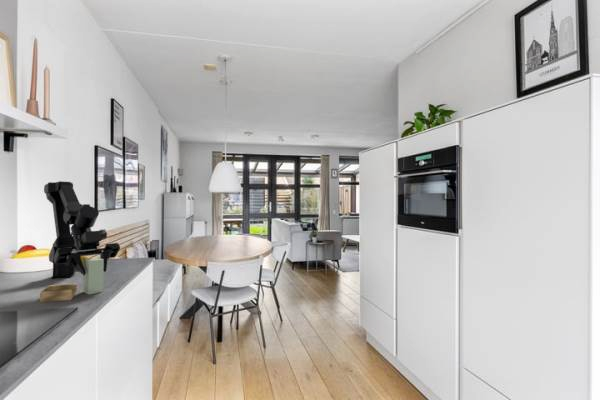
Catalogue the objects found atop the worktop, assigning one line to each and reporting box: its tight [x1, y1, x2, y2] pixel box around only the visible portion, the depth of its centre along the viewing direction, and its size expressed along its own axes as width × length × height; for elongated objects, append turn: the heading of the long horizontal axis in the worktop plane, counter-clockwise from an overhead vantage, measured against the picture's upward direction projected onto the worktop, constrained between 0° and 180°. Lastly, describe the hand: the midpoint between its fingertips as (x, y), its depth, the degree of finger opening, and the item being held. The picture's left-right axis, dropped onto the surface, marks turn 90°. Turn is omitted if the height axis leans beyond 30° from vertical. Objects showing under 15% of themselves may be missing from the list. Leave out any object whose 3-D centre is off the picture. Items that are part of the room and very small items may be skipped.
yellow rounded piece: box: [81, 256, 91, 266], centre depth 140 cm, size 5×5×10 cm
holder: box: [39, 283, 78, 303], centre depth 102 cm, size 8×8×3 cm
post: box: [82, 257, 104, 295], centre depth 108 cm, size 4×4×11 cm
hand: (95, 272), depth 107 cm, fingers open, 6 cm apart
